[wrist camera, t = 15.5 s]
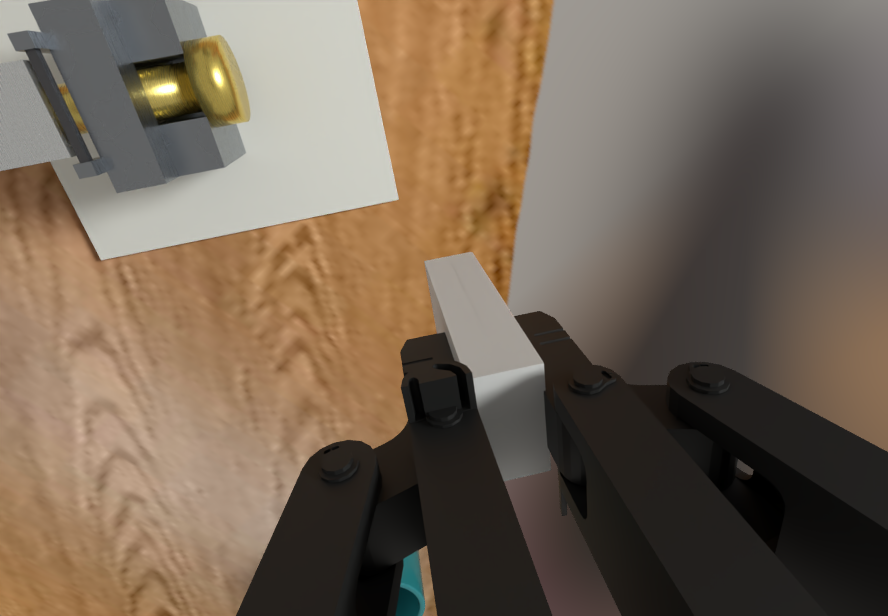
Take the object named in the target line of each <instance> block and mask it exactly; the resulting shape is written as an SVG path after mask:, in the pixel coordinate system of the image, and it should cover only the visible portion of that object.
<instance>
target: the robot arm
mask: <svg viewBox="0 0 888 616" xmlns="http://www.w3.org/2000/svg"><path fill="white" fill-rule="evenodd" d="M424 262H425V268H426V273H427V279H428V285H429V290H430V296H431V302H432V307H433V313H434V319H435V324H436V330H437V334H433V335H428V336H423V337H419V338H414V339H409V340H407V341H406V342H405V344H404V346H403V348H402V350H401V352H400V353H401V360H402V367H403V373H404V378H403V380H402V385H401V390H402V394H403V399H404V403H405V408H406V412H407V416H408V422H407V424H406V426H405V428H404V429H403V430H402V431H401V433H399V434H398V435H397V436H396V437H395V438H394V439H392V440H390V441H388V442H387V443H385V444H383V445H381V446H379V447H377V448H375V449H372V448H371V446H369V445H367V444H365V443H363V442H361V441H353V440H346V441H341V442H336V443H333V444H331V445H328V446H326V447H324V448H322V449H320V450H319V451H318V452H317V453H315V454H314V455H313V456H311V457H310V458H309V460H308V461H307V463H306V464H305V466H304V467H303V468H302V471H301V473H300V475H299V477H298V479H297V482H296V484H295V486H294V488H293V491H292V493H291V495H290V497H289V499H288V502H287V504H286V506H285V508H284V511H283V513H282V515H281V517H280V519H279V522H278V524H277V526H276V528H275V530H274V533H273V535H272V537H271V539H270V542H269V544H268V546H267V548H266V550H265V553H264V555H263V557H262V559H261V562H260V564H259V566H258V568H257V570H256V573H255V575H254V577H253V579H252V582H251V584H250V586H249V588H248V590H247V593H246V595H245V597H244V599H243V602H242V604H241V606H240V608H239V610H238V613H237V615H236V616H395V615H396V609H397V603H398V597H399V590H400V584H401V578H402V572H403V566H404V562H403V559H404V558H406V557H407V556H409V555H411V554H413V553H414V552H416V551H418V550H419V549H421V548H423V547H424V546H426V545H427V548H428V555H429V562H430V569H431V575H432V582H433V589H434V596H435V603H436V609H437V616H552V614H551V611H550V608H549V605H548V603H547V600H546V597H545V594H544V591H543V589H542V586H541V584H540V580H539V577H538V575H537V572H536V569H535V566H534V564H533V561H532V558H531V555H530V552H529V550H528V547H527V544H526V541H525V539H524V537H523V533H522V530H521V528H520V525H519V522H518V519H517V517H516V514H515V511H514V508H513V505H512V503H511V500H510V497H509V494H508V492H507V489H506V486H505V483H504V481H507V480H511V479H516V478H520V477H524V476H529V475H533V474H537V473H541V472H546V471H550V470H551V463H550V452H551V455H552V457H553V459H554V461H555V462H556V464H557V466H558V480H559V497H560V509H561V514H562V516H565V515H567V504H568V506H569V508H570V510H571V512H572V514H573V516H574V518H575V521H576V523H577V525H578V527H579V529H580V531H581V533H582V535H583V537H584V539H585V541H586V543H587V545H588V547H589V549H590V551H591V554H592V556H593V558H594V560H595V562H596V564H597V566H598V568H599V570H600V572H601V574H602V576H603V578H604V580H605V583H606V584H607V587H608V589H609V591H610V593H611V595H612V597H613V599H614V601H615V603H616V605H617V607H618V609H619V611H620V613H621V615H622V616H888V452H887V451H885V450H883V449H881V448H879V447H877V446H875V445H874V444H872V443H870V442H868V441H866V440H864V439H862V438H861V437H859V436H857V435H855V434H853V433H851V432H849V431H847V430H845V429H844V428H842V427H840V426H838V425H836V424H834V423H832V422H830V421H828V420H827V419H825V418H823V417H821V416H819V415H817V414H815V413H813V412H812V411H810V410H808V409H806V408H804V407H802V406H800V405H798V404H797V403H794V402H792V401H791V400H789V399H787V398H785V397H783V396H782V395H780V394H778V393H776V392H774V391H772V390H770V389H768V388H766V387H765V386H763V385H761V384H759V383H757V382H755V381H753V380H751V379H749V378H747V377H746V376H744V375H742V374H740V373H738V372H736V371H734V370H732V369H730V368H727V367H724V366H722V365H719V364H713V363H708V362H690V363H686V364H682V365H678V366H677V367H675V368H674V369H672V370H671V371H670V373H669V375H668V378H667V385H630V384H627V383H625V381H624V380H623V379H622V378H621V377H620V376H619V375H618V374H617V373H615V372H614V371H612V370H611V369H608V368H605V367H602V366H598V365H592V363H591V362H590V361H589V360H588V359H587V357H586V356H585V355H584V354H583V352H582V351H581V350H580V349H579V348H578V346H577V345H576V344H575V343H574V341H573V340H572V339H570V336H569V335H568V334H567V333H566V331H564V330H563V328H562V326H561V325H560V324H559V323H558V322H557V320H556V319H555V318H553V317H551V316H549V315H547V314H545V313H543V312H540V311H537V312H533V313H528V314H523V315H518V316H513V314H512V313H511V311H510V310H509V308H508V307H507V305H506V304H505V302H504V301H503V299H502V297H501V296H500V294H499V293H498V291H497V290H496V288H495V287H494V285H493V284H492V282H491V280H490V279H489V277H488V276H487V274H486V273H485V271H484V270H483V268H482V267H481V265H480V263H479V262H478V260H477V259H476V257H475V256H474V254H473V253H472V252H468V253H463V254H458V255H453V256H448V257H443V258H438V259H433V260H427V261H424ZM738 459H739V460H741V461H742V462H743V463H745V464H746V465H748V466H749V467H751V468H752V469H753V470H754V471H753V475H748V474H747V473H745V472H743V471H741V470H740V469H739V468H737V462H738Z"/></svg>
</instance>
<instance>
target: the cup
mask: <svg viewBox="0 0 888 616" xmlns="http://www.w3.org/2000/svg"><path fill="white" fill-rule="evenodd" d="M403 562H404V566H403V572H402V578H401V584H400V590H399V597H398V603H397V609H396V615H395V616H422V615H423V613H424V610H425V598H424V590H423V582H422V574H421V566H420V558H419V550H418V551H416V552H414V553H413V554H411V555H409V556H407V557H406V558H404V559H403Z"/></svg>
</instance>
